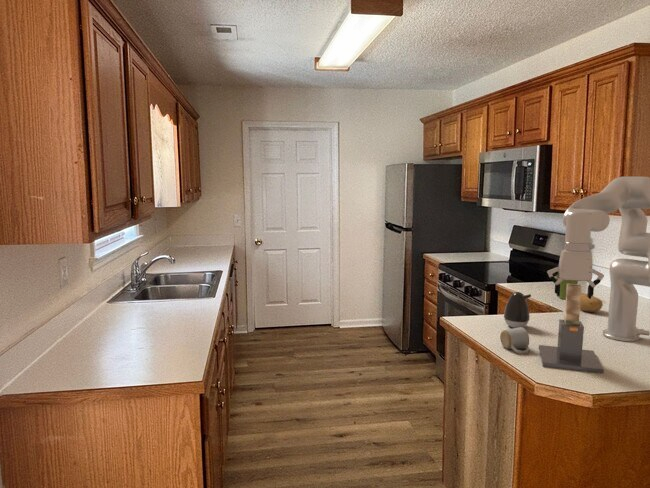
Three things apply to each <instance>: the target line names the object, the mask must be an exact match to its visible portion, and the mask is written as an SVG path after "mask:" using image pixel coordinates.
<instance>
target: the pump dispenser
mask: <svg viewBox="0 0 650 488" xmlns="http://www.w3.org/2000/svg"><path fill="white" fill-rule="evenodd" d="M531 297H532V295H531V294H526V295H524V294H523V293H522V292H520V291H515V292H513V293H511V295H510V296H509V298H508V300H507V302H506V305H505V307H504V312H503V313H504V314H503V319H504V322H505V323H506V325H507V326H509V328H511V329H513V328H519V327H523V328H525V327H526V326H527V325H528V323H529V321H530V309H529V304H528V301H527V299H528V298H531Z"/></svg>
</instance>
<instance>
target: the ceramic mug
mask: <svg viewBox="0 0 650 488" xmlns="http://www.w3.org/2000/svg"><path fill="white" fill-rule="evenodd" d="M499 338H500V342H501V345H502V347H503V348H505V349H506V350H507V349H508V350H512V351H514V352H515V353H517V354H519V355H526V354H527V353H528V351H529V349H530V347H529V346H530V336H529V333H528V331H527V330H526V329H525V327H519V328H507V329H504V330H502V331H501V333H500V336H499ZM521 349H526V350H521Z"/></svg>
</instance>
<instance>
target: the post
mask: <svg viewBox="0 0 650 488" xmlns="http://www.w3.org/2000/svg"><path fill="white" fill-rule="evenodd" d="M581 293H582V285H581V284H580V283H577V284H567V289H566V299H565V302H564V303H565V305H564V317H563V318H564V319H563V320H564V324H566V325H577V326H579V321H580V313H581V309H580V302H581Z"/></svg>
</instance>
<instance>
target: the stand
mask: <svg viewBox="0 0 650 488" xmlns="http://www.w3.org/2000/svg"><path fill="white" fill-rule="evenodd" d="M584 330H585V327H584V324H583V322H582V321H580V320H579V326H577V325H566V324H564V319H559V320H558V332H557V333H558V335H557V346H555V345H554V346H553V345H545V344H543V345H542V344H538V352H539V356H540V360H541V365H542V367H545V368H551V369H552V368H553V369H559V370H560V369H561V370H562V369H563V370H570V371H575V372H577V371H578V372H586V373H594V374H595V373H596V374H604V367H603V366H602V364H601V362H600V360H599V359H598V357H597V355H596V353H595V352H594V350H592V349H591V350H590V349H583V345H584V333H585V331H584Z"/></svg>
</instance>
